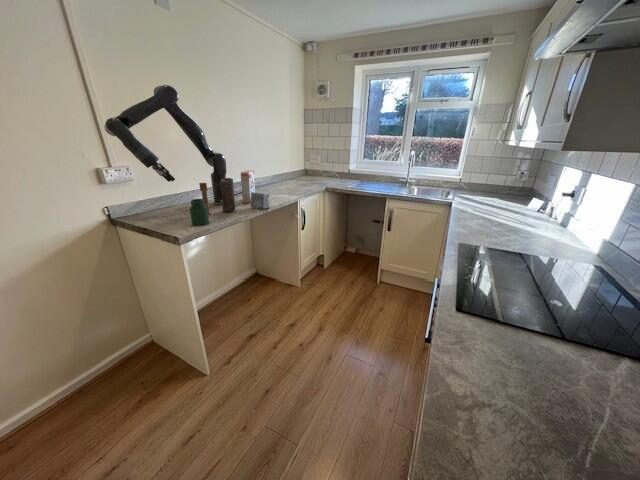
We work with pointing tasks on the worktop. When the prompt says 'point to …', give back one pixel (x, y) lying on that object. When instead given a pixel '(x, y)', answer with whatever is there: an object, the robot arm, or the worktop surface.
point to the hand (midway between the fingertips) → (172, 180)
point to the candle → (227, 194)
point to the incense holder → (259, 200)
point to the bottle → (198, 212)
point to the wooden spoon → (204, 194)
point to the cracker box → (247, 185)
